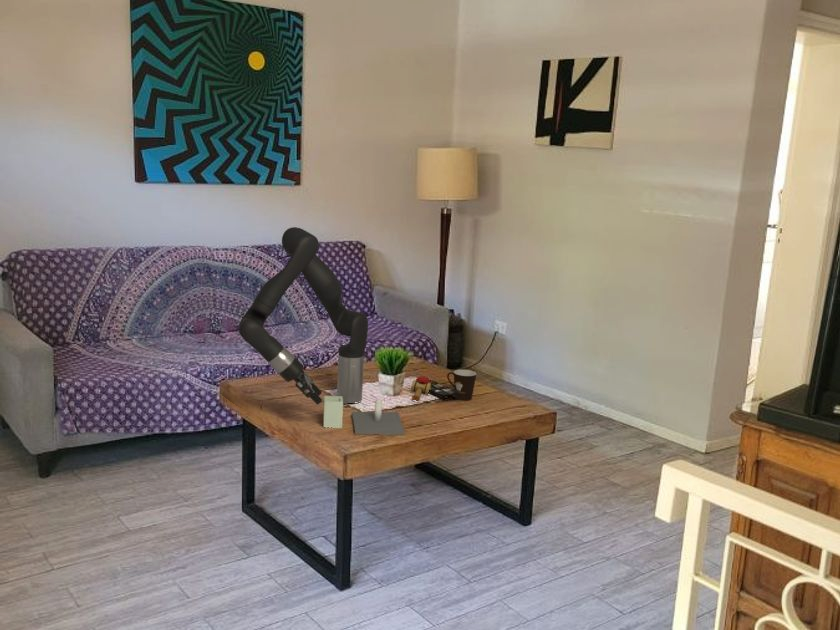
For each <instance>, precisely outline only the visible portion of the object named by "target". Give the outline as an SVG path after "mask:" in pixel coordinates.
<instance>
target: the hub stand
mask: <svg viewBox="0 0 840 630" xmlns="http://www.w3.org/2000/svg"><path fill="white" fill-rule="evenodd" d="M382 410H383V399H380V398H377V399H375V400H374V411H352V412H351V418H352V423H353V430H354V435H355V434H380V435H379V436H381V435H382V436H387V435H388V436H405V428H404V425H403V423H402V422H403V421H402V420H401V419H402V418H401V417H400V413H399V411H397V412H395V411H394V412H389V411H387V412H386V411H384V412H383V411H382Z"/></svg>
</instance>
